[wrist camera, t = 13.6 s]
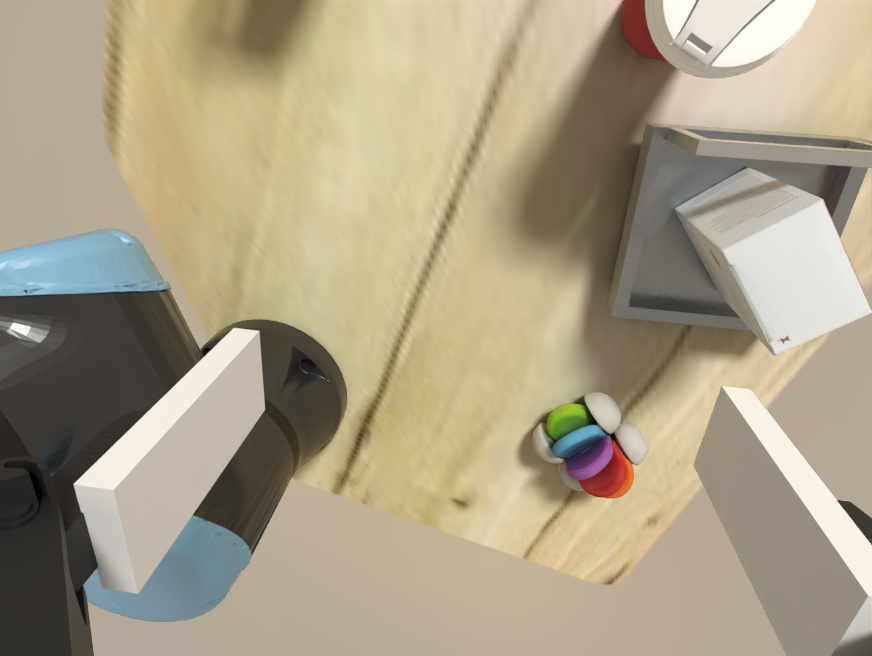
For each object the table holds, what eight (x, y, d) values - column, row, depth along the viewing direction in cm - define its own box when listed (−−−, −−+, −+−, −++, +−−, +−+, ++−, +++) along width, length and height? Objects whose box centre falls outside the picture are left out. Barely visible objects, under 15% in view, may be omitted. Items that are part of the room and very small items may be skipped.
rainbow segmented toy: (578, 481, 55) (587, 537, 48) (519, 417, 52) (519, 467, 46) (653, 441, 52) (673, 496, 45) (594, 371, 49) (606, 418, 43)
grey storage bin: (604, 297, 46) (627, 357, 36) (641, 121, 40) (681, 138, 30) (778, 314, 45) (848, 381, 35) (844, 135, 38) (951, 157, 29)
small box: (791, 256, 40) (877, 315, 31) (716, 294, 42) (775, 360, 33) (748, 163, 38) (827, 196, 28) (670, 207, 40) (720, 251, 30)
